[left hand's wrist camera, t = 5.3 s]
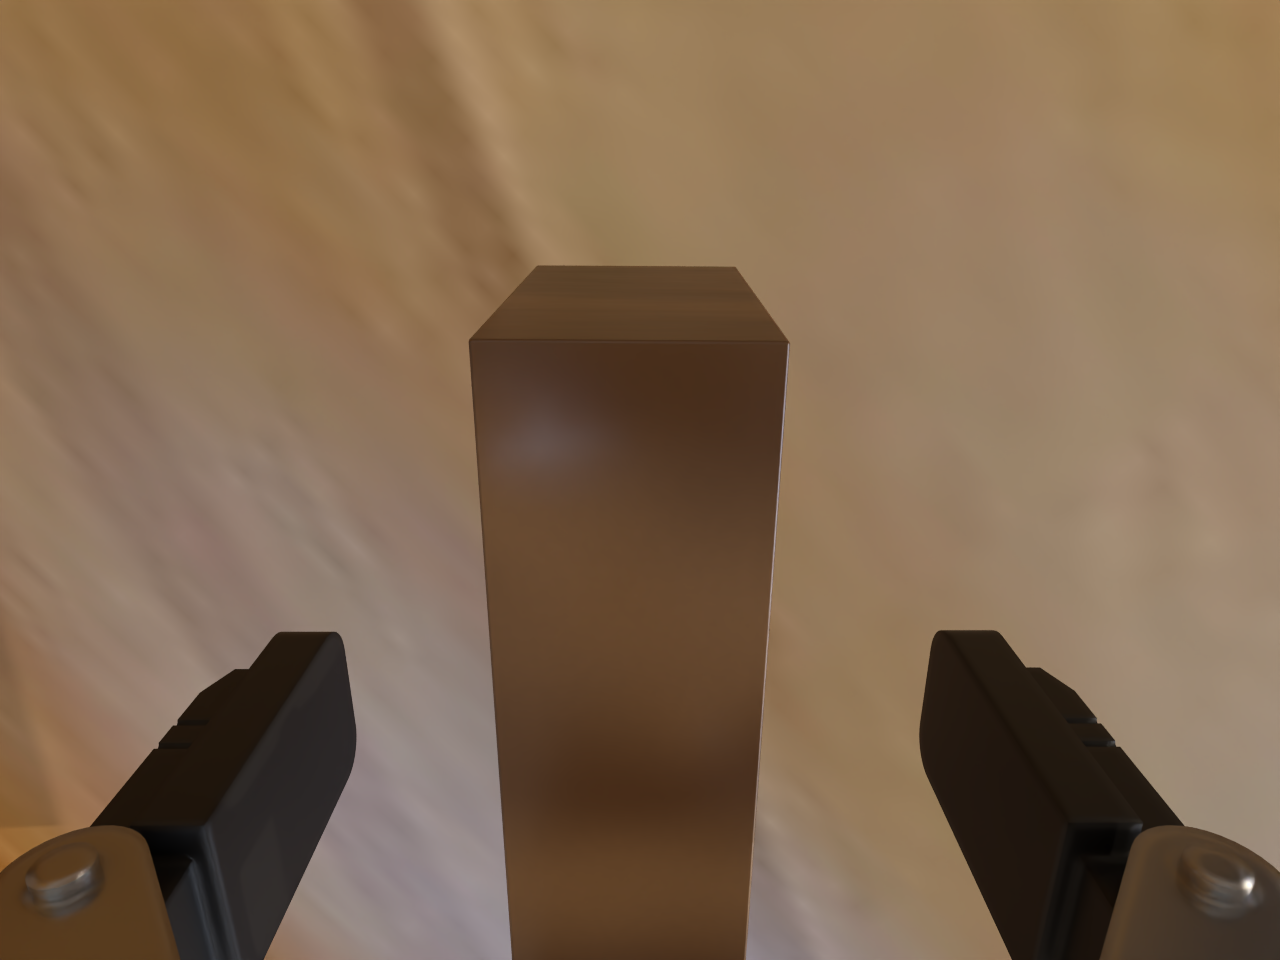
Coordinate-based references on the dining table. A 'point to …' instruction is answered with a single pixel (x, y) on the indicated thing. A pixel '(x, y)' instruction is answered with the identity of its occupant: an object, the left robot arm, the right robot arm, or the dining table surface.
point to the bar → (629, 600)
